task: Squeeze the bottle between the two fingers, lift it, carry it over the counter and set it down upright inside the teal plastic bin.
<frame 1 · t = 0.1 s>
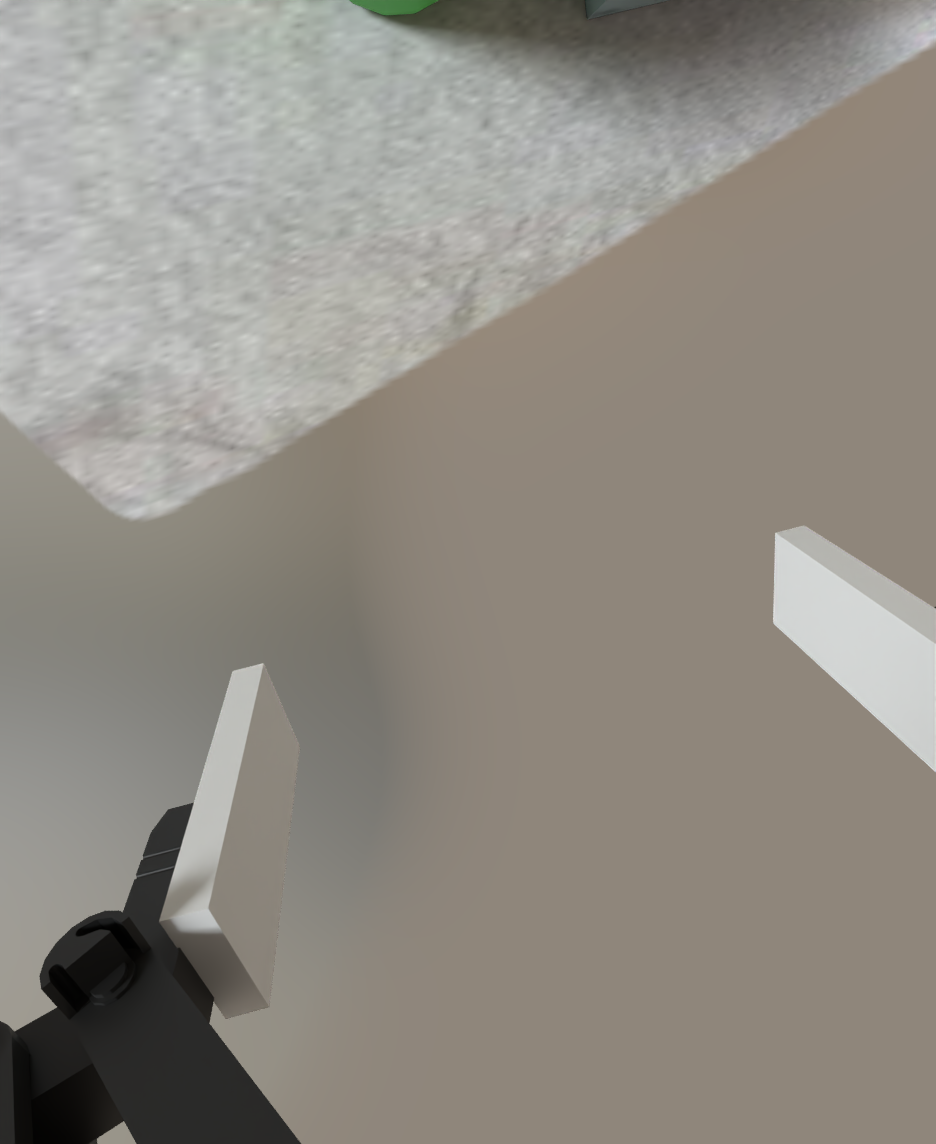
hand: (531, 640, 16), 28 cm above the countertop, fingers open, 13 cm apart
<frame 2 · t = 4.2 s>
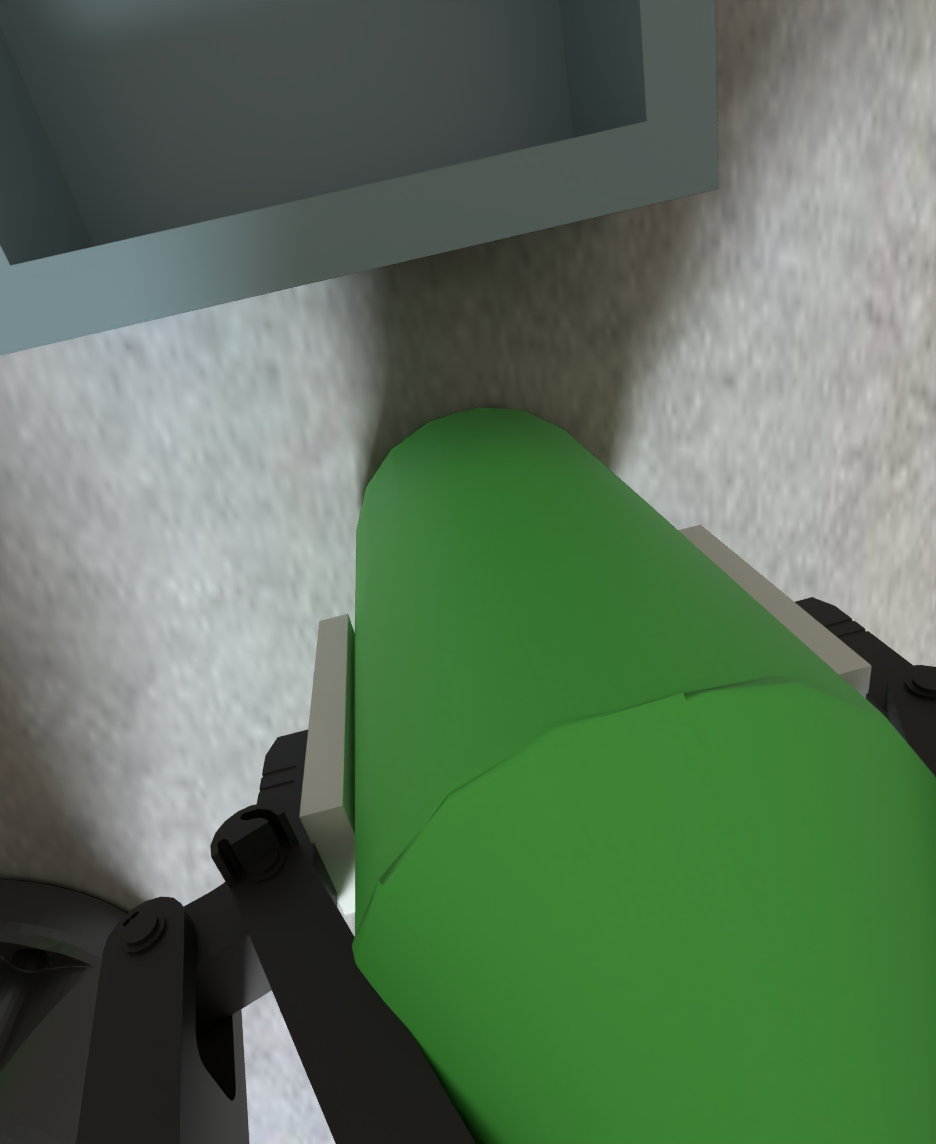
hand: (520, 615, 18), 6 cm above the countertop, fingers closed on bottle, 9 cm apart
bottle: (480, 522, 23), on the countertop, touching gripper
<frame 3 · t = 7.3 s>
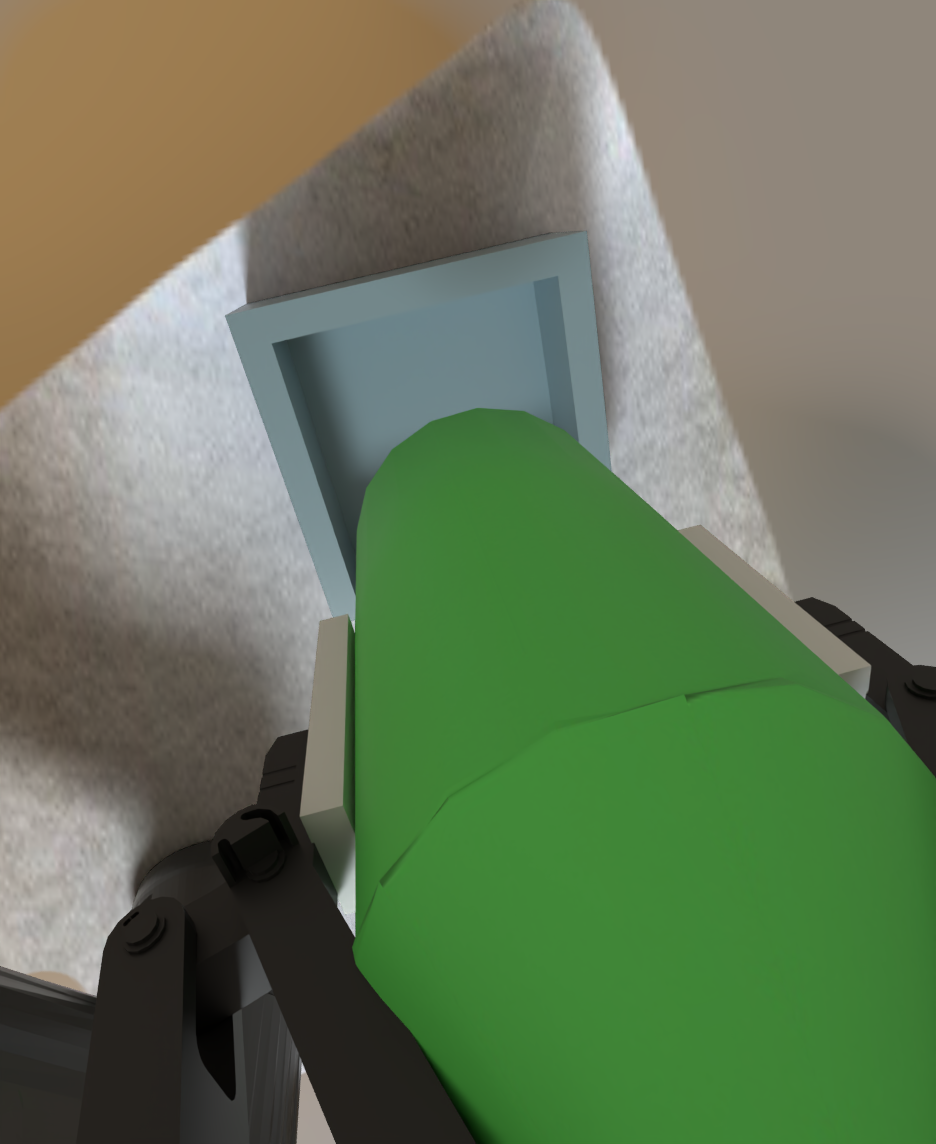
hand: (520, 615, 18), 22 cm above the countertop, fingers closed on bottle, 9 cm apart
bottle: (480, 523, 23), point 15 cm above the countertop, touching gripper
bin: (434, 419, 37), on the countertop
when the fingers open (9 cm above the countertop, at t = 10.5 s): bottle drops 1 cm, resting on bin.
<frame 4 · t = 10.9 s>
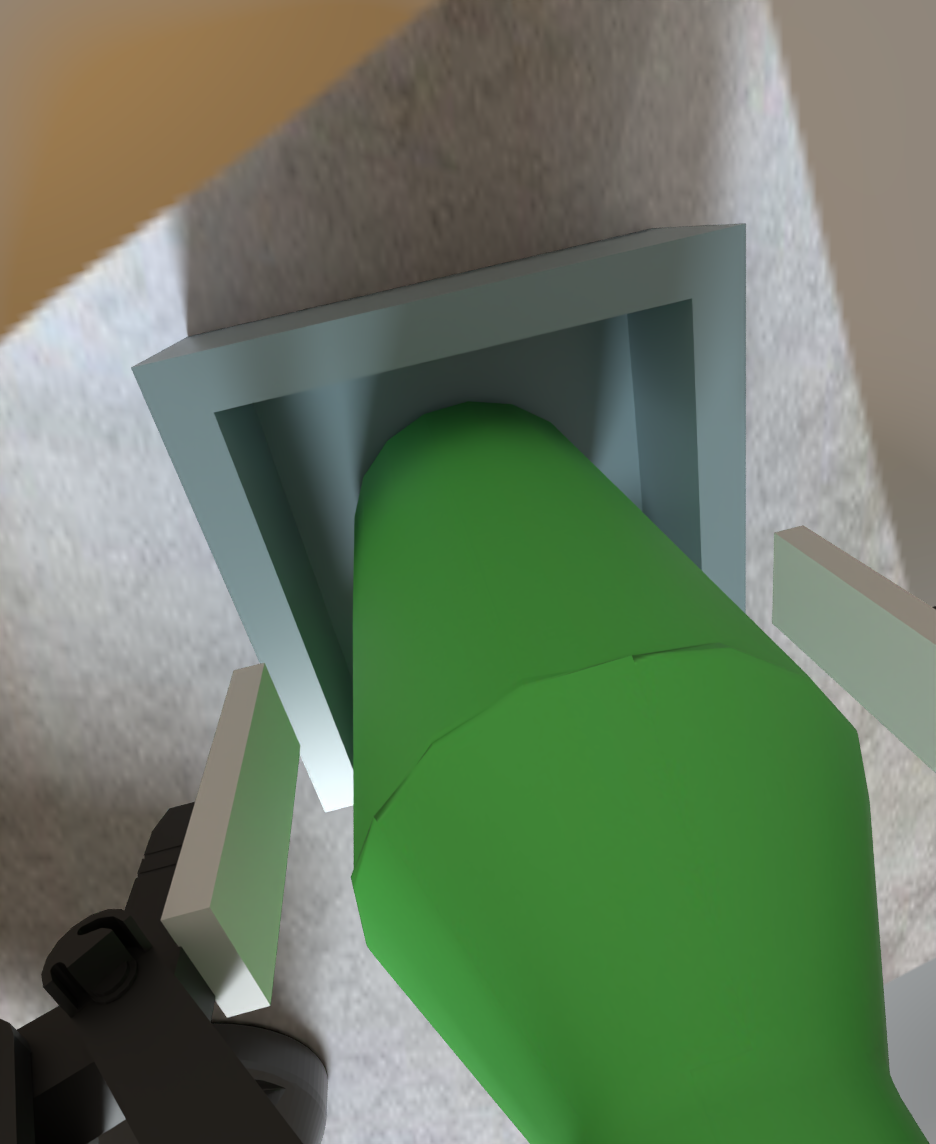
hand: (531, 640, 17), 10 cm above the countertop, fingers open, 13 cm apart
bottle: (471, 510, 25), point 1 cm above the countertop, touching bin
bin: (470, 500, 26), on the countertop
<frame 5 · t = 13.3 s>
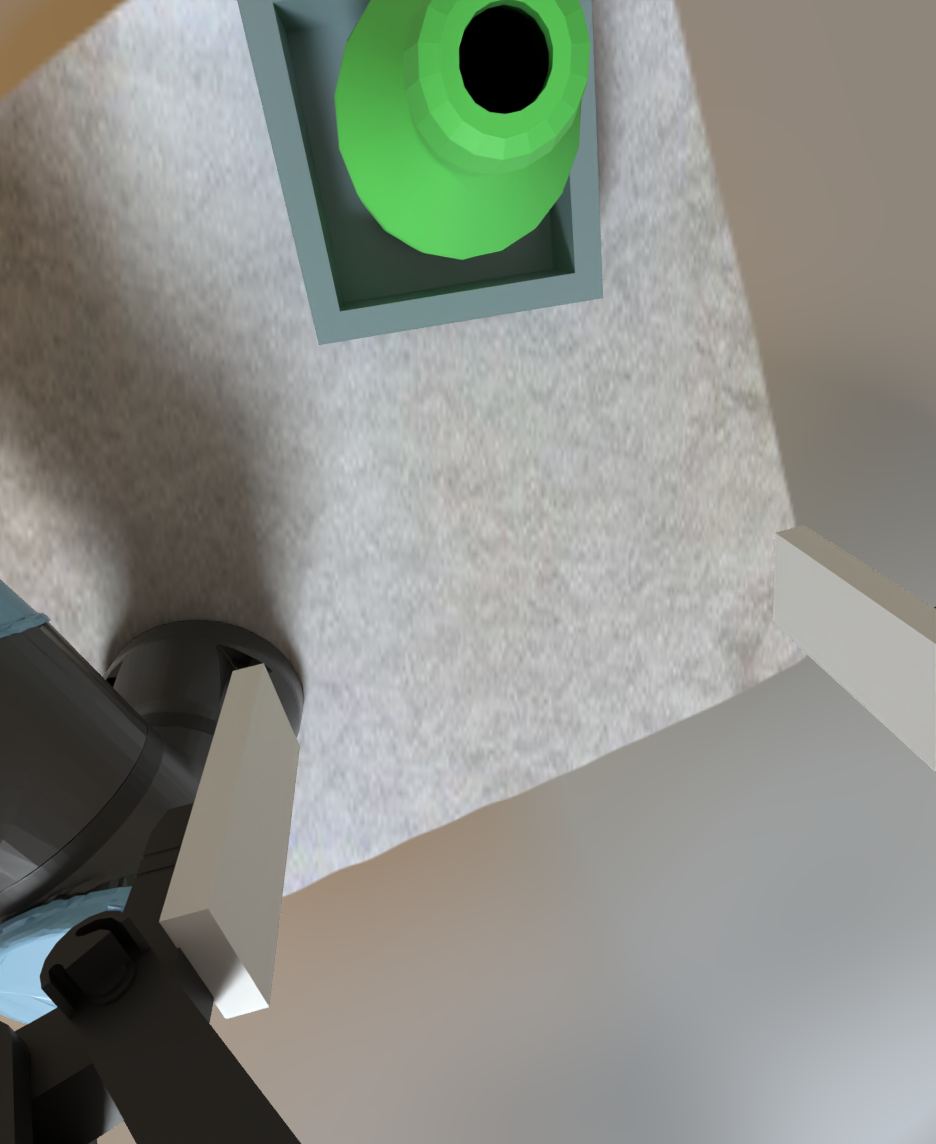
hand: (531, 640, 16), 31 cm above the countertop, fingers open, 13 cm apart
bottle: (430, 163, 37), point 1 cm above the countertop, touching bin
bin: (430, 162, 38), on the countertop
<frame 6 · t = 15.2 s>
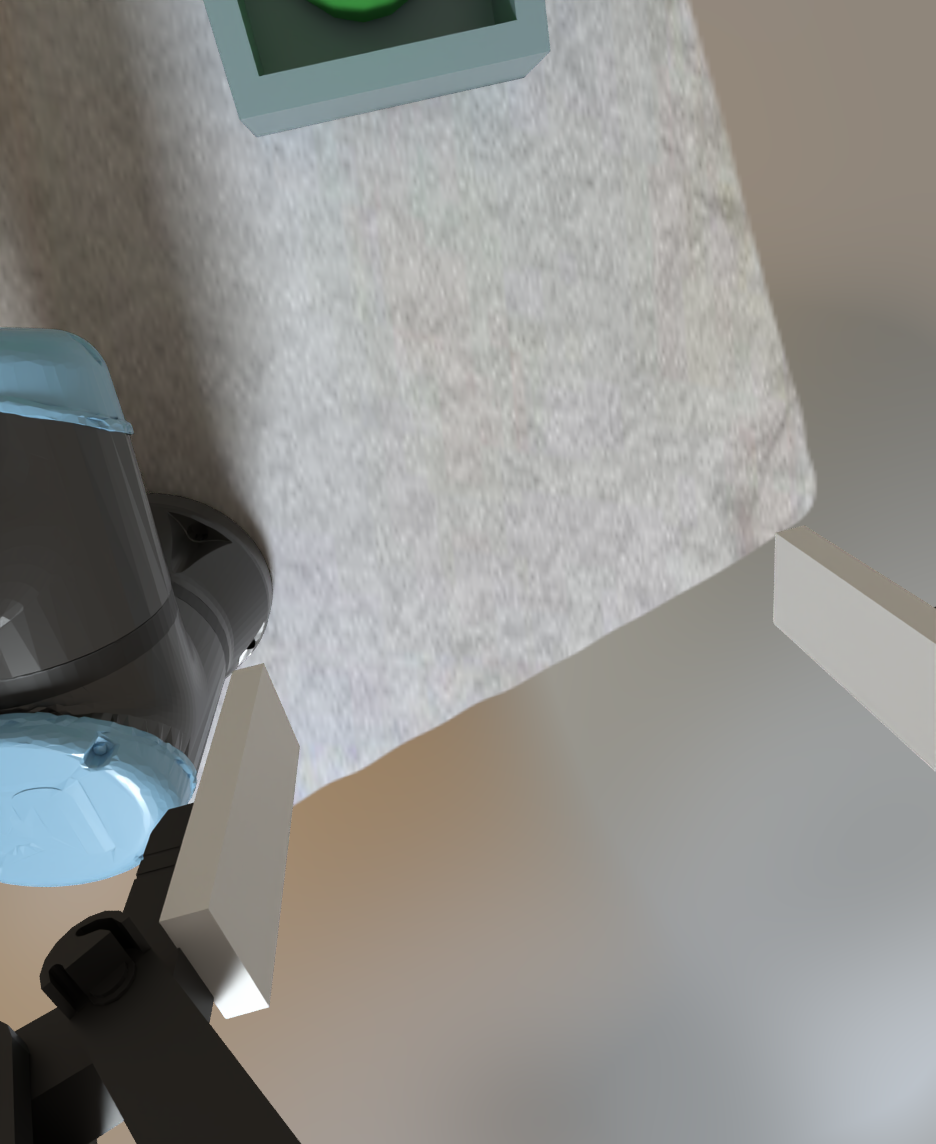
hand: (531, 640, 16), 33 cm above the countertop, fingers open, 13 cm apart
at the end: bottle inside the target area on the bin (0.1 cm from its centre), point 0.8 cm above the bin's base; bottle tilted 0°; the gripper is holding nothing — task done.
